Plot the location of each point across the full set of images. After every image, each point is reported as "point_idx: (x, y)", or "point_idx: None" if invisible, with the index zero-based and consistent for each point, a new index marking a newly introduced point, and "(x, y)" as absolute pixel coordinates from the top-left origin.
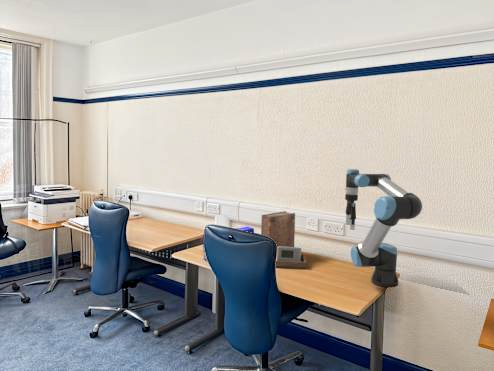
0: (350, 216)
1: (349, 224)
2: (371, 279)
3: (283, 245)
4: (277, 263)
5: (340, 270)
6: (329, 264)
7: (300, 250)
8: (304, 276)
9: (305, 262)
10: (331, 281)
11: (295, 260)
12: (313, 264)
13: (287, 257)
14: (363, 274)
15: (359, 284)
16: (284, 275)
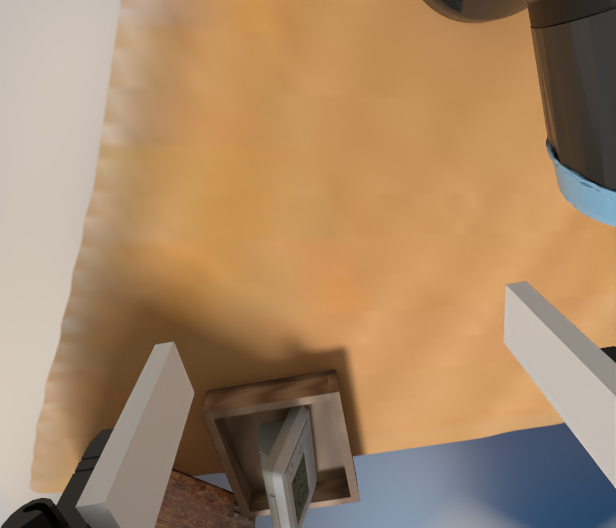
0: (118, 470)
1: (176, 355)
2: (492, 20)
3: (164, 522)
4: (356, 480)
5: (311, 213)
6: (223, 274)
7: (282, 461)
8: (445, 364)
9: (336, 395)
10: (497, 252)
11: (307, 433)
12: (257, 347)
13: (305, 471)
14: (347, 70)
15: (530, 104)
16: (446, 429)
